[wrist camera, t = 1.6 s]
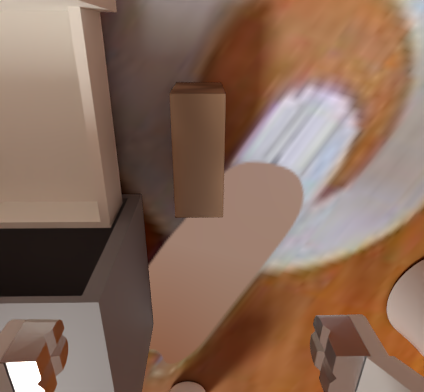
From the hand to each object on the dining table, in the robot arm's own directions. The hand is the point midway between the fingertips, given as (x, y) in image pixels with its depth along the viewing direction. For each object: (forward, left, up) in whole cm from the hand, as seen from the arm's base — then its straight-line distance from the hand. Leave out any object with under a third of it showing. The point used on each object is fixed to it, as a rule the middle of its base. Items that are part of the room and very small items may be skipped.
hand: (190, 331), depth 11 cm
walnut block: (0, 0, -24) cm, 24 cm away
